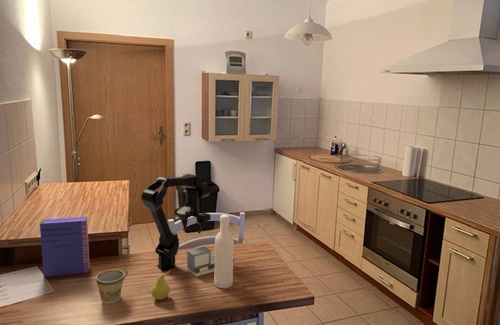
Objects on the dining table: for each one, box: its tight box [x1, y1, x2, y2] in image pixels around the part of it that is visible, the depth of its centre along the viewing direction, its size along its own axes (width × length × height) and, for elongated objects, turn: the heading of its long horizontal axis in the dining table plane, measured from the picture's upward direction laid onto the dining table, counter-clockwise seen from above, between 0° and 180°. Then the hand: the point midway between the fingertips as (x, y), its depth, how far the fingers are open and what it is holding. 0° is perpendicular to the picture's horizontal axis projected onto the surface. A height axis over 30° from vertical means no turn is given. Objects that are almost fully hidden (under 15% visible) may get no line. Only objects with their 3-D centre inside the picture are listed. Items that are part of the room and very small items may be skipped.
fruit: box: [151, 270, 171, 301], centre depth 144 cm, size 7×8×12 cm
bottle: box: [213, 214, 235, 289], centre depth 154 cm, size 8×8×30 cm
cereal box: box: [39, 216, 91, 278], centre depth 160 cm, size 17×5×24 cm, turn 108°
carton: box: [186, 246, 212, 272], centre depth 167 cm, size 5×9×8 cm, turn 126°
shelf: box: [185, 253, 235, 277], centre depth 171 cm, size 20×10×4 cm, turn 126°
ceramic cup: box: [95, 268, 129, 305], centre depth 143 cm, size 13×10×10 cm
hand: (192, 231), depth 182 cm, fingers open, 9 cm apart
